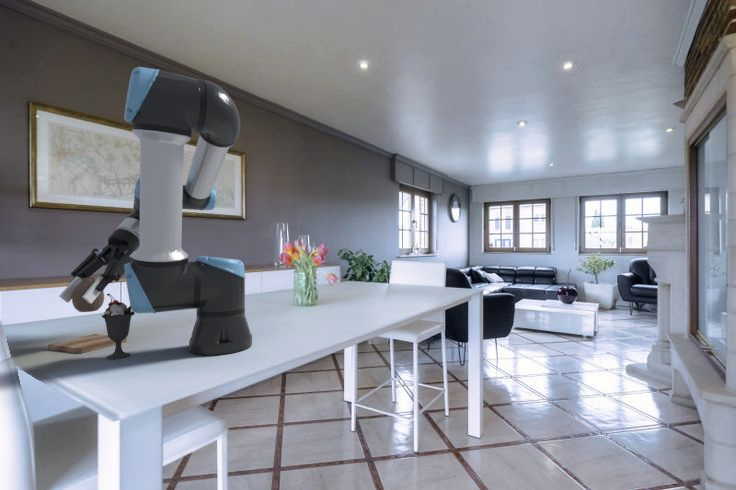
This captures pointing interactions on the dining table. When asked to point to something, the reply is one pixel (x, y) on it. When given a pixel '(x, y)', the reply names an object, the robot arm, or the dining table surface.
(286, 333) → the dining table surface
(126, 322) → the sundae
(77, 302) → the vase
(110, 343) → the walnut board
